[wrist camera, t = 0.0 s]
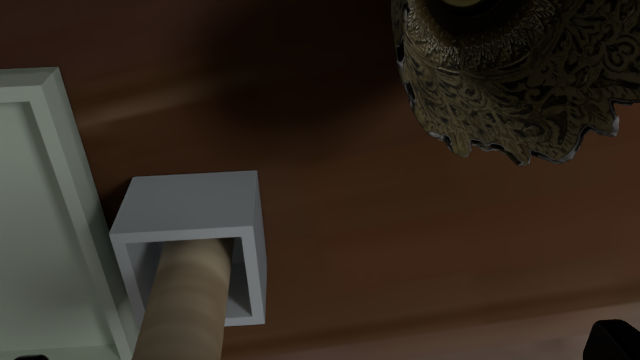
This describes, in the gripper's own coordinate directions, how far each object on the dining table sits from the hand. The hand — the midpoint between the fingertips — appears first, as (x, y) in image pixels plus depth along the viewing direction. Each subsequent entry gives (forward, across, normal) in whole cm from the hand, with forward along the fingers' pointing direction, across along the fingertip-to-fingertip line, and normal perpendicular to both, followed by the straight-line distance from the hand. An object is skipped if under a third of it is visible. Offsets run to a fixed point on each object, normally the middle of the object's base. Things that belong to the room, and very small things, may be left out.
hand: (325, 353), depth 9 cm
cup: (+15, -6, -3) cm, 16 cm away
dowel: (+14, +5, +8) cm, 17 cm away
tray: (+15, +14, +8) cm, 22 cm away
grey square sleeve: (+15, +5, +8) cm, 18 cm away
